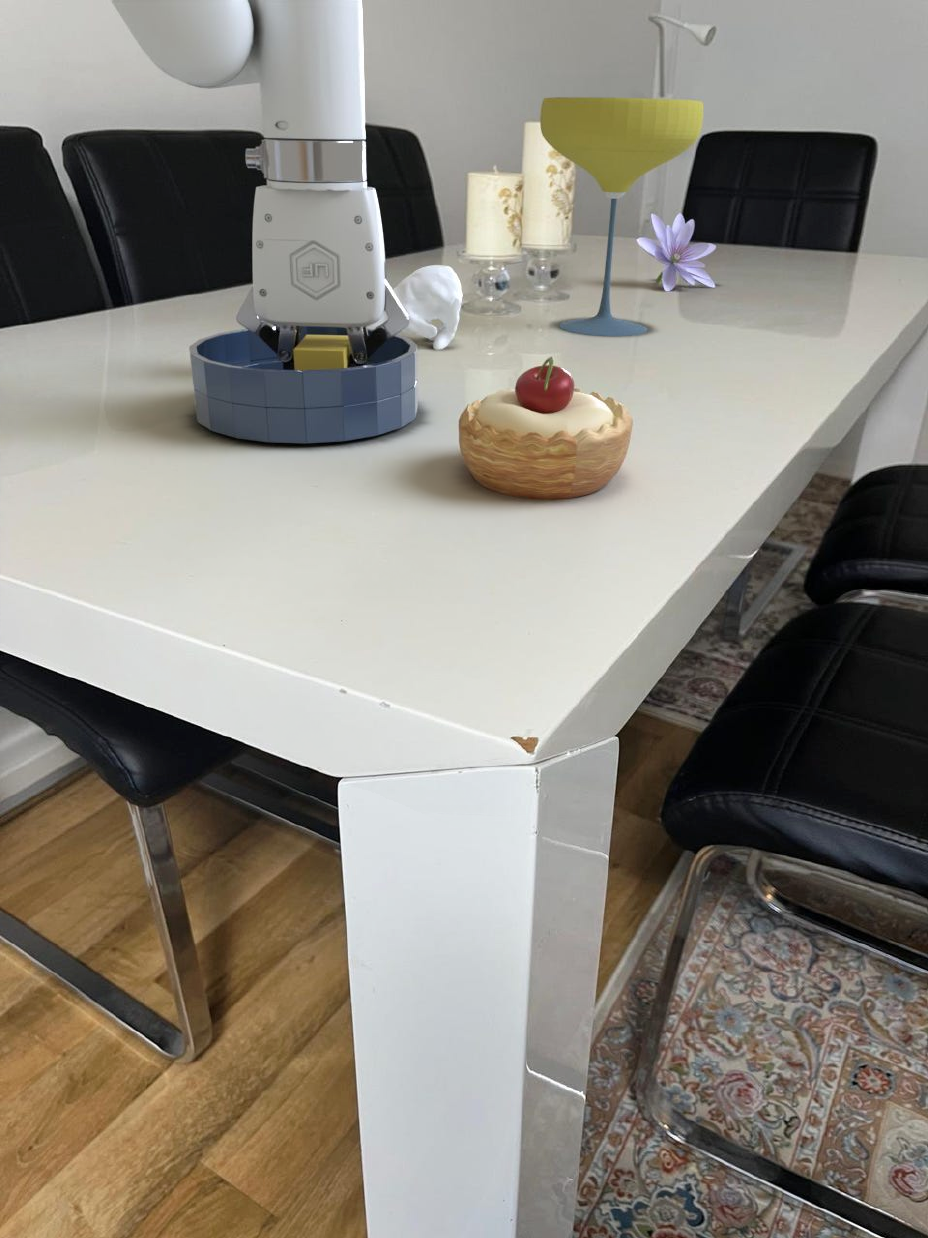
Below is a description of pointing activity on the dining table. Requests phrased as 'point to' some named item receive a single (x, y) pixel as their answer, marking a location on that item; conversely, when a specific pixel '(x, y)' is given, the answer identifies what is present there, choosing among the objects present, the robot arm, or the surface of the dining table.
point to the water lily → (677, 252)
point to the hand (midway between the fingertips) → (327, 405)
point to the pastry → (544, 437)
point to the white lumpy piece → (430, 303)
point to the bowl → (301, 390)
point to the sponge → (322, 352)
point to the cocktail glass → (617, 160)
